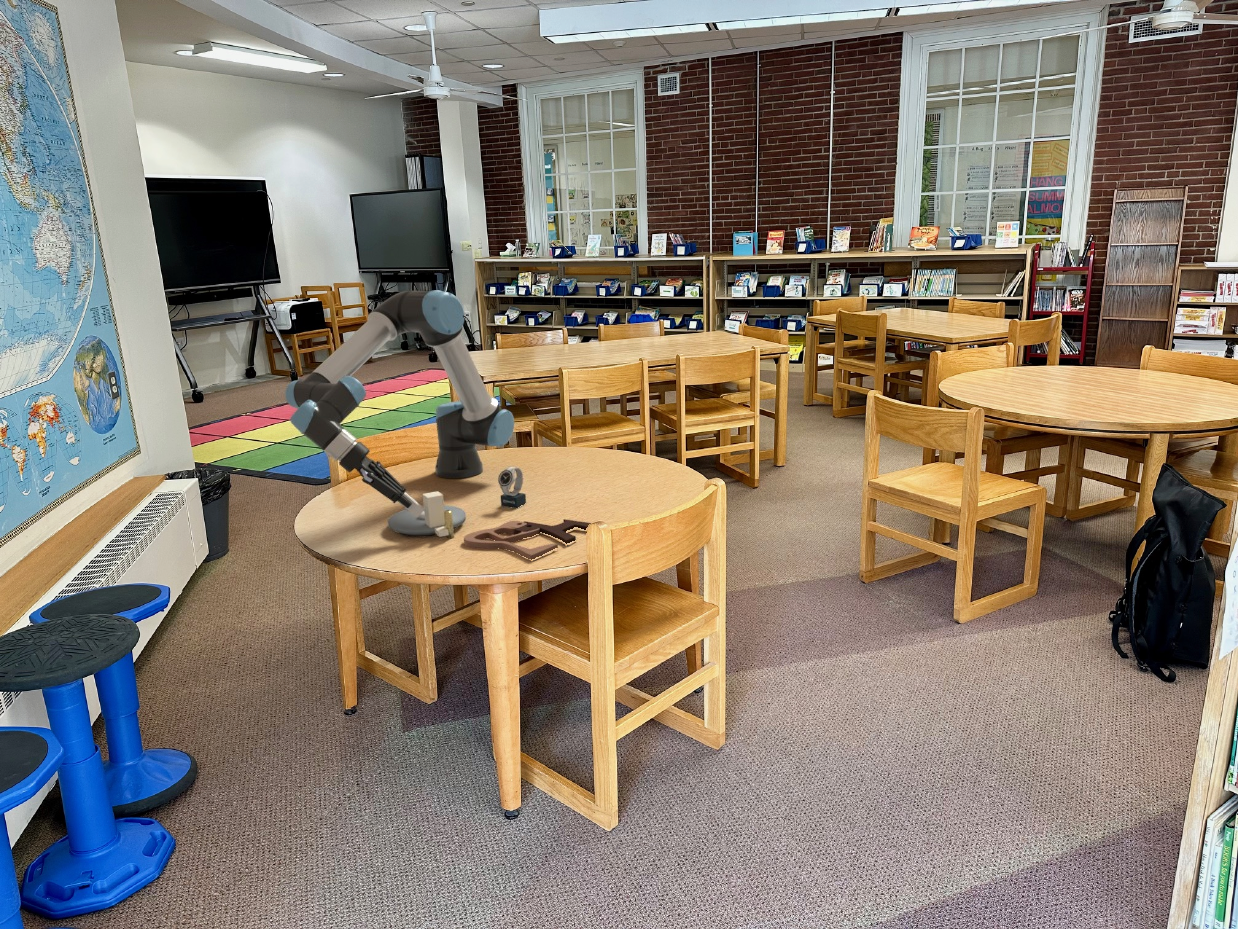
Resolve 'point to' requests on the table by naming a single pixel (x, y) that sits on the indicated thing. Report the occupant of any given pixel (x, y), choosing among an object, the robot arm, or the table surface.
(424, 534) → the turntable base
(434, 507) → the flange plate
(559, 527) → the wood carving
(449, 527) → the gold domed cylinder
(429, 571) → the table surface
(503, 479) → the watch
